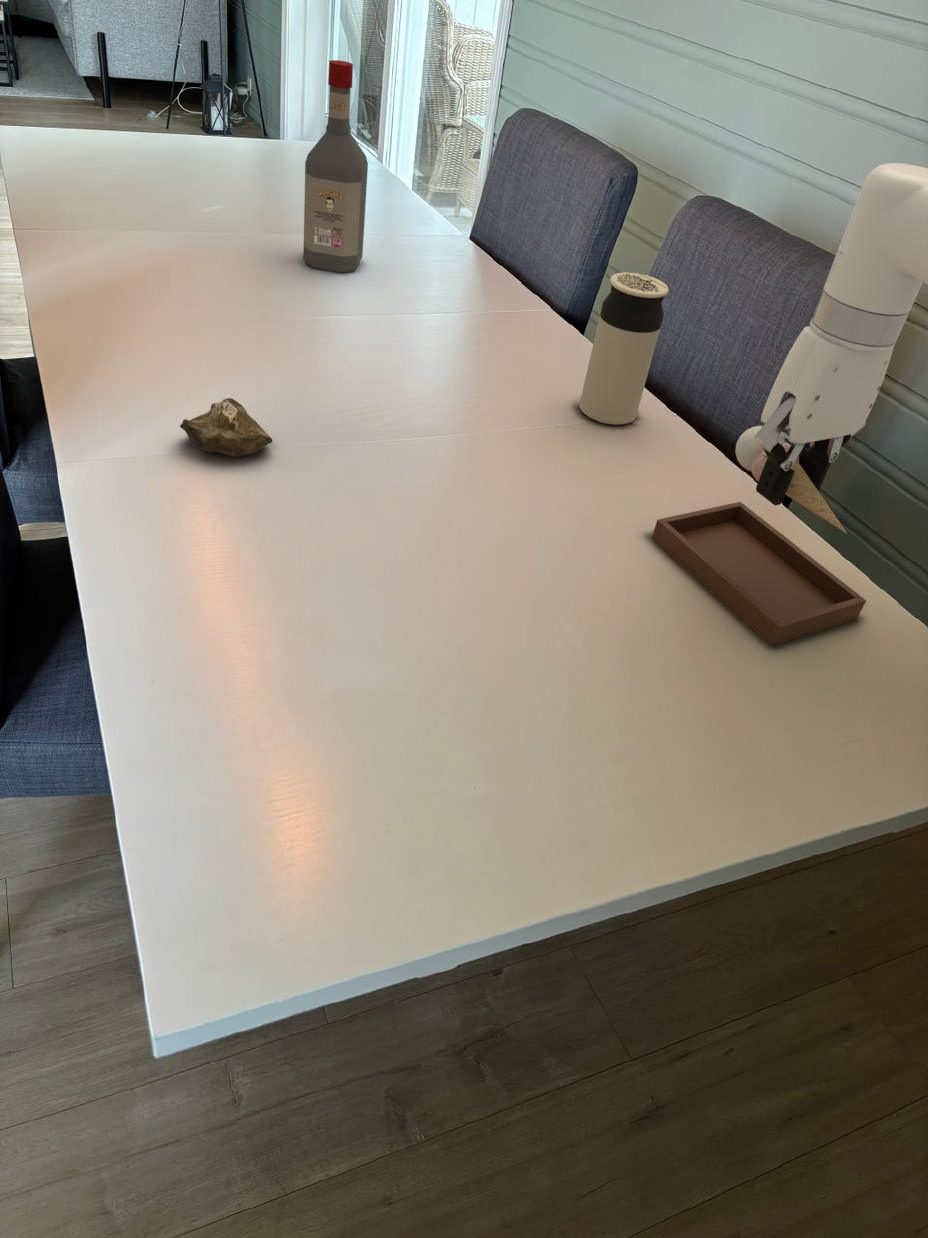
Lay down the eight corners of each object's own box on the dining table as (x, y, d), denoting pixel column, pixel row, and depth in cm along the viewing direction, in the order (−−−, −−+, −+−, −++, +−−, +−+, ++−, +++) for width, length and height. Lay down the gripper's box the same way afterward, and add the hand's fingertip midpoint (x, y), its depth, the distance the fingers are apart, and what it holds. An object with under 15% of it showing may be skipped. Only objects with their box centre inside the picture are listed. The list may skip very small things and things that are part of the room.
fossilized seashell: (163, 434, 102) (241, 472, 101) (185, 378, 100) (265, 416, 100) (193, 439, 109) (266, 475, 108) (214, 387, 108) (288, 423, 107)
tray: (857, 618, 96) (866, 600, 94) (770, 646, 90) (779, 627, 89) (733, 519, 108) (740, 501, 107) (651, 537, 103) (657, 519, 101)
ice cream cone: (859, 533, 91) (757, 435, 97) (872, 508, 87) (765, 408, 93) (823, 558, 91) (722, 459, 97) (834, 534, 86) (729, 432, 92)
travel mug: (600, 429, 122) (633, 296, 110) (567, 402, 127) (596, 272, 116) (646, 422, 125) (683, 292, 114) (613, 396, 130) (645, 269, 119)
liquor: (353, 275, 154) (365, 72, 135) (300, 266, 154) (304, 62, 135) (364, 258, 161) (376, 63, 142) (313, 249, 161) (318, 53, 142)
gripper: (888, 297, 87) (816, 464, 99) (760, 308, 80) (699, 487, 91) (952, 329, 82) (868, 500, 94) (822, 344, 75) (749, 528, 87)
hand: (786, 492), depth 93 cm, fingers closed on ice cream cone, 4 cm apart
